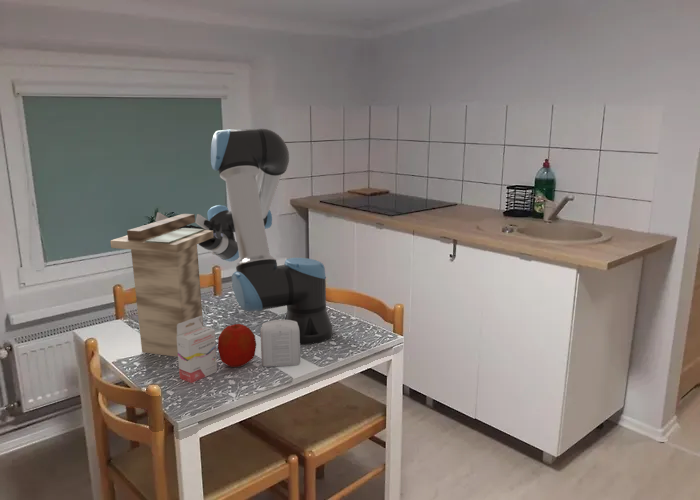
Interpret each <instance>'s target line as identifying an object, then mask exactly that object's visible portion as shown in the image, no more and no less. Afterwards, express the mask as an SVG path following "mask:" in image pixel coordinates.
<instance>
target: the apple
mask: <svg viewBox="0 0 700 500" xmlns="http://www.w3.org/2000/svg"><path fill="white" fill-rule="evenodd" d="M256 349H257V340H256V335H255V334H254V332H253V331H252V330H251V328H250V327H249V326H246V325H244V324H241V323H237V324H236V323H234V324H230V325H227V326H226V327H224V329H222V331H221V332H220V334H219V336H218V338H217V351H218V353H219V357H220V360H221V362H222V363H224V364H225V366H228V367H229V368H239V367H243V366H245V365H246V364H248V363H249V362H251V361H252V360H253V359H254V358H255V354H256Z"/></svg>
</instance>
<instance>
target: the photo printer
mask: <svg viewBox="0 0 700 500" xmlns="http://www.w3.org/2000/svg"><path fill="white" fill-rule="evenodd" d="M260 352H261V354H260V355H261V366H262V367H284V366H289V367H290V366H297V365H298V366H299V365H300V363H301V344H300V331H299V326H298V323H297V322H296V321H292V320H285V319H272V320H269V321H265V322H263V323H262V326H261V328H260Z"/></svg>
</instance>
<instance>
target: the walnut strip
mask: <svg viewBox="0 0 700 500" xmlns="http://www.w3.org/2000/svg"><path fill="white" fill-rule="evenodd" d="M195 221H196V216H195V213H181V214H178V215H175V216H171V217H168V218H167V219H164V220H160V221H157V222H156V221H154V222H151V223H148V224H144V225H141V226H138V227H133V228H130V229H127V230H126V232H127V233H126V234H127V235H128V240H140V241H141V240H144V239H147V238H150V237H153V236H156V235H159V234H162V233H165V232H168V231H171V230H174V229H177V228H180V227H183V226H186V225H187V226H189V225H192V224H194V223H195ZM195 224H196V223H195Z"/></svg>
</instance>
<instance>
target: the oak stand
mask: <svg viewBox="0 0 700 500" xmlns="http://www.w3.org/2000/svg"><path fill="white" fill-rule="evenodd" d="M211 238H214V237H213V231H210V230H204V229H193V228H181V229H174V230H171V231H168V232H165V233H162V234H159V235H156V236H153V237H150V238H147V239H144V240H141V241H140V240H128V235H124V236H121V237H116V238H114V239H111V240H110V248H111V249H122V250H130V251H131V261H132V270H133V271H132V272H133V280H134V281H133V282H134V289H135V291H134V292H135V298H136V299H135V300H136V307H137V318H138V326H139V337H140V345H141V353H145V354H155V355H162V356H169V357H175V356H176V357H177V358H178V350H177V337H176V336H177V324H179V323H182V322H185V321H187V320H190V319H193V318H196V317H199V316H202V317H204V316H203V305H202V294H201V293H202V291H201V281H200V280H201V279H200V269H199V268H200V266H199V255H198V245H199V243H201V242H204V241H206V240H209V239H211ZM192 325H194V323H189V324H188V325H186V327H189V326H192Z"/></svg>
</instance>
